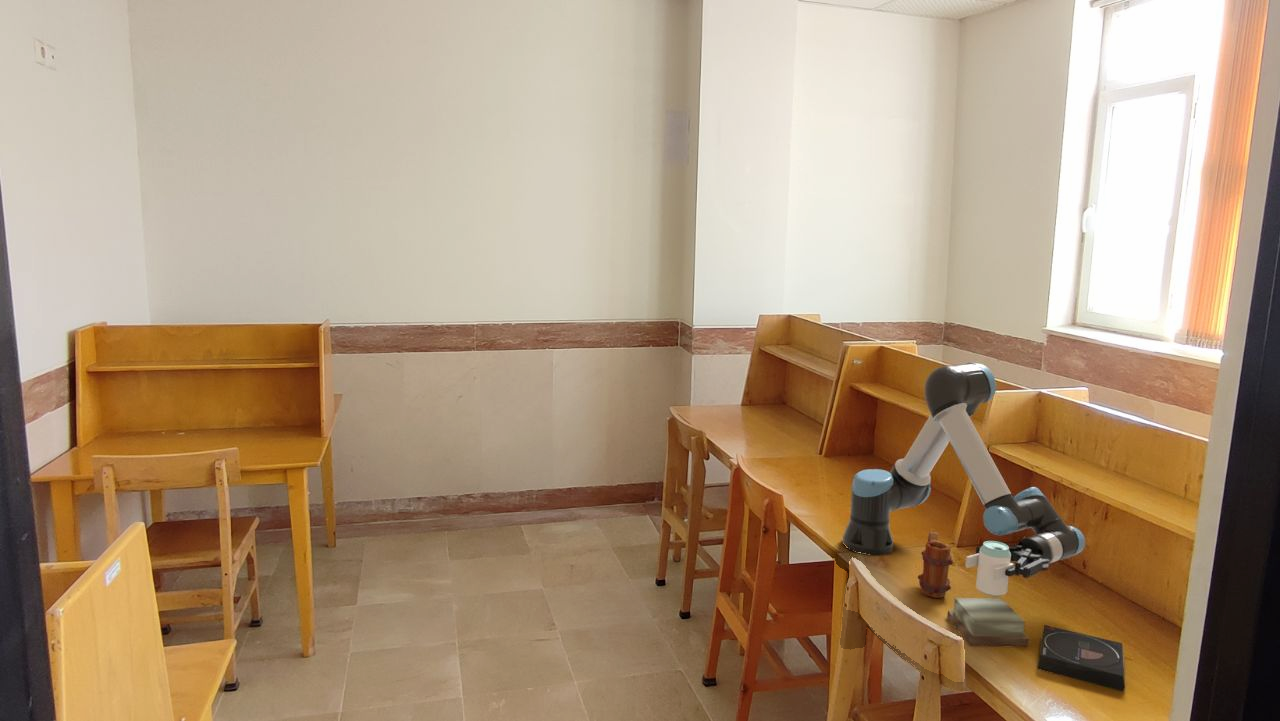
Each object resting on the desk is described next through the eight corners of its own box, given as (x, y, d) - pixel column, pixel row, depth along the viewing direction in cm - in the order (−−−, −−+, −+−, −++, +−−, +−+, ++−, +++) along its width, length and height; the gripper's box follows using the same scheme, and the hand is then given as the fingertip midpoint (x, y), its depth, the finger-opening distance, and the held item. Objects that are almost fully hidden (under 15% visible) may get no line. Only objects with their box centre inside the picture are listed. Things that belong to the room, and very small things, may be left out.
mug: (951, 603, 217) (957, 550, 215) (919, 600, 219) (924, 546, 216) (943, 580, 232) (948, 529, 229) (913, 577, 233) (917, 526, 231)
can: (1012, 593, 200) (1018, 547, 198) (995, 600, 196) (1000, 553, 194) (986, 582, 206) (991, 537, 204) (969, 589, 202) (974, 542, 200)
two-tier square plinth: (947, 617, 210) (949, 595, 209) (1001, 618, 210) (1003, 596, 209) (970, 645, 196) (972, 622, 195) (1028, 646, 196) (1030, 623, 195)
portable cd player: (1124, 693, 178) (1126, 676, 178) (1037, 670, 187) (1039, 654, 186) (1122, 659, 192) (1125, 643, 192) (1042, 639, 201) (1044, 624, 200)
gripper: (1074, 579, 201) (1016, 599, 190) (1002, 550, 218) (945, 567, 206) (1078, 550, 200) (1020, 569, 188) (1005, 523, 217) (947, 539, 205)
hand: (981, 568), depth 197 cm, fingers closed on can, 7 cm apart
